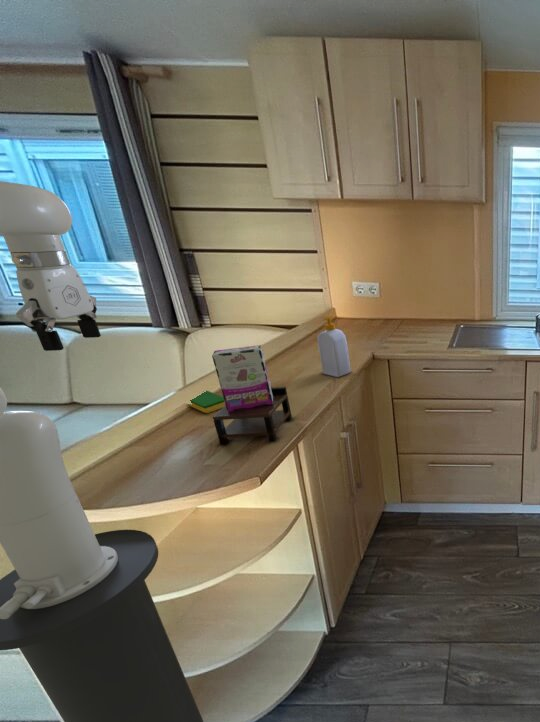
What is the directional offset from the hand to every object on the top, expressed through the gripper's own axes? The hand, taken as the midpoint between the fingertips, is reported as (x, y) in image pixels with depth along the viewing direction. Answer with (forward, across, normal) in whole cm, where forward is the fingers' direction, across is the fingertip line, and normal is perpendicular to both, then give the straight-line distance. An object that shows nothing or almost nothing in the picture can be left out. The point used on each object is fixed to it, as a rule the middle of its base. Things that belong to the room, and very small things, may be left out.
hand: (74, 343), depth 87 cm
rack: (+32, +17, -24) cm, 44 cm away
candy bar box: (+24, +16, -24) cm, 38 cm away
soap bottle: (+32, +63, -36) cm, 80 cm away
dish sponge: (+32, +38, 0) cm, 50 cm away
